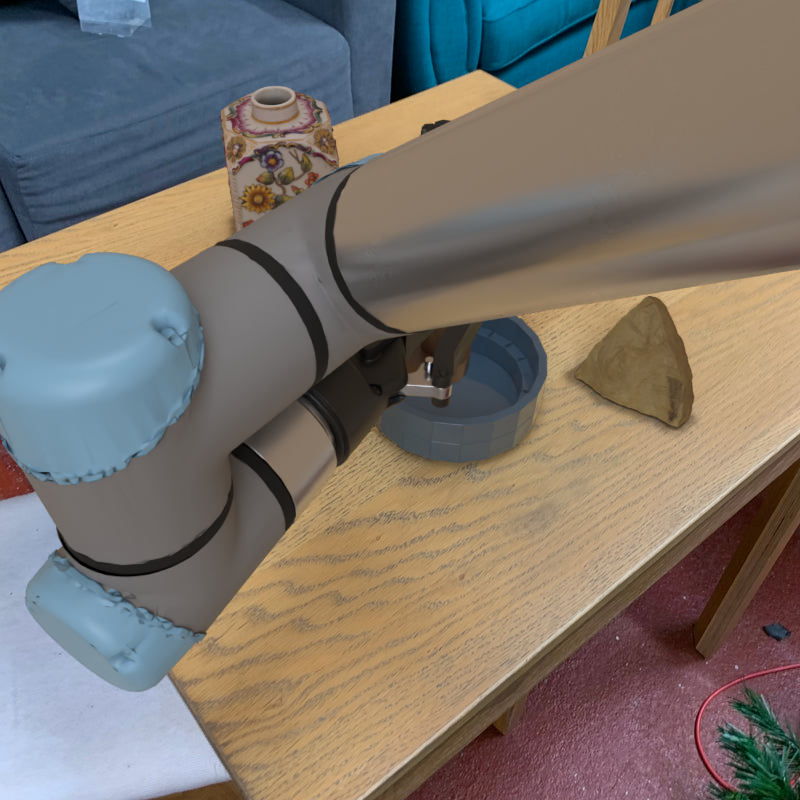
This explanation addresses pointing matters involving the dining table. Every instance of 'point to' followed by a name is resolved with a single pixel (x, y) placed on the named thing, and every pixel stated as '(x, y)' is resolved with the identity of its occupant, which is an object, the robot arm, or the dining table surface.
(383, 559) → the dining table surface
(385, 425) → the bowl
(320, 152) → the decorative jar
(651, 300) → the rock
